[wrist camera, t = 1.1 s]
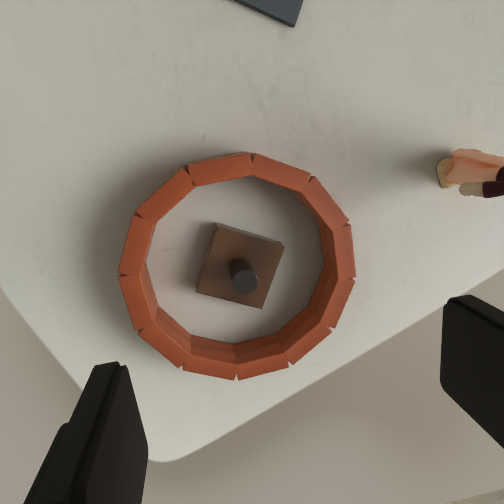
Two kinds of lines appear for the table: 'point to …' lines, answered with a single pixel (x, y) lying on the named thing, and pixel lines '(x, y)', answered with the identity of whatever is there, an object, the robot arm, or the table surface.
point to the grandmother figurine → (473, 173)
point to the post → (239, 266)
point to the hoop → (260, 349)
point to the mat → (277, 9)
